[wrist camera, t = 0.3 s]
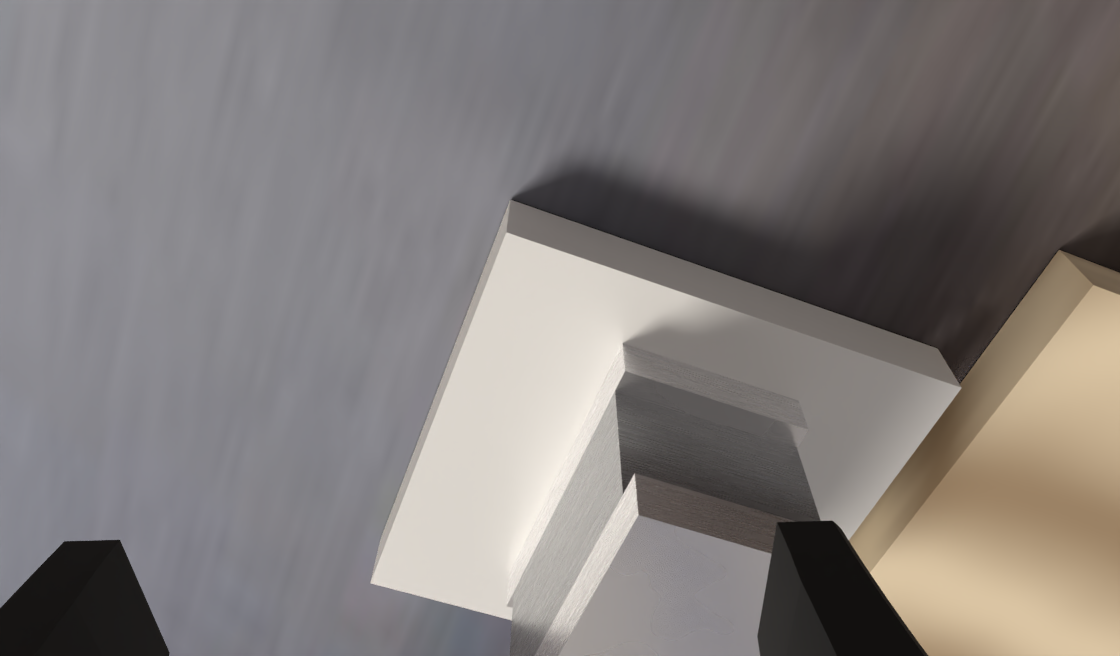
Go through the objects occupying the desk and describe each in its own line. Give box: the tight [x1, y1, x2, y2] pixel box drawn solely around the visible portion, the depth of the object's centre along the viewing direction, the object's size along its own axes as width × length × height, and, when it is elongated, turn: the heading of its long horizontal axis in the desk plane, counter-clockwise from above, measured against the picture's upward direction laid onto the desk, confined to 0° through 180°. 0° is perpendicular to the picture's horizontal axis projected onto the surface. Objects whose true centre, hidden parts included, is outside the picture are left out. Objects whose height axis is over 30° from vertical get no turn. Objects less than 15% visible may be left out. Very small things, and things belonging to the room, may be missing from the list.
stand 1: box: [371, 200, 961, 620], centre depth 22 cm, size 10×10×2 cm
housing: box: [507, 343, 821, 656], centre depth 19 cm, size 7×4×5 cm, turn 159°
